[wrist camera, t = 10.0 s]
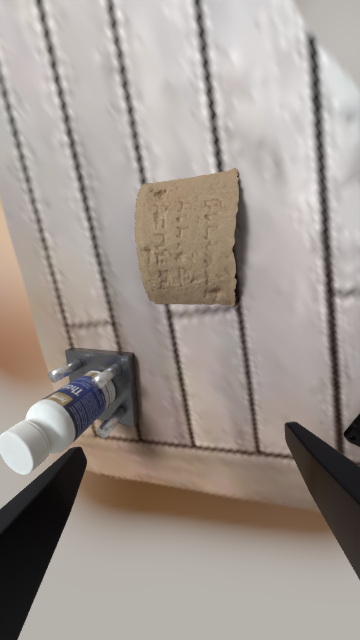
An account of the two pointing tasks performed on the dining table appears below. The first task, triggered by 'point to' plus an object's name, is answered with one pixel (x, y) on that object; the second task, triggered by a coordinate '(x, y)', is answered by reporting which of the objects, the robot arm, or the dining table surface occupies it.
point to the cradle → (105, 382)
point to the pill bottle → (55, 423)
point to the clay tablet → (188, 239)
